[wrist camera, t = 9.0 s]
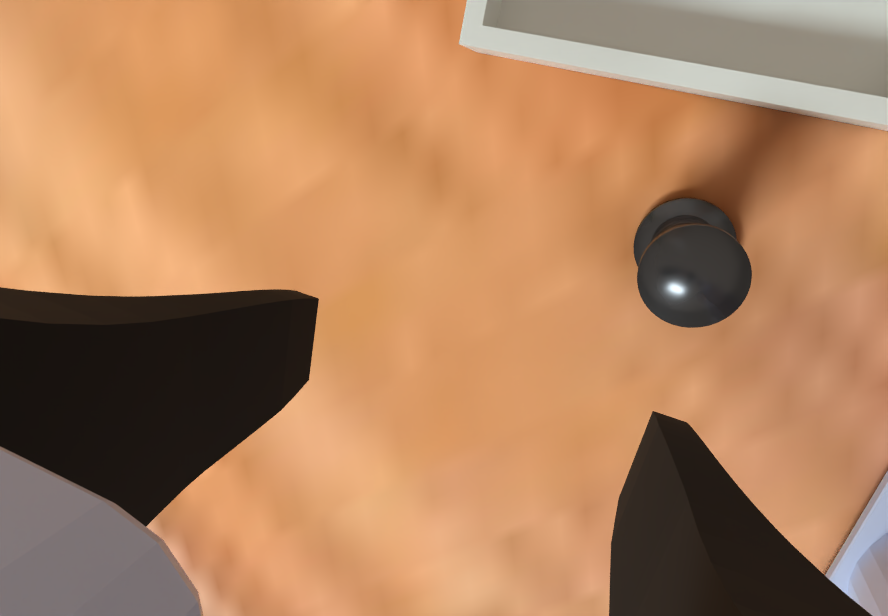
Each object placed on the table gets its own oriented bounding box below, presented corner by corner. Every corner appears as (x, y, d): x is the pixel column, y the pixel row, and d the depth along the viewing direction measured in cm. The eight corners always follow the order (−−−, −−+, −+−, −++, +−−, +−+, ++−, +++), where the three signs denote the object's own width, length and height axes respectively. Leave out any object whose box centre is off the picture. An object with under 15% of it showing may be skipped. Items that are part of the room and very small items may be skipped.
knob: (751, 211, 17) (782, 236, 13) (714, 301, 18) (732, 350, 14) (650, 187, 18) (651, 203, 14) (621, 275, 19) (613, 314, 15)
